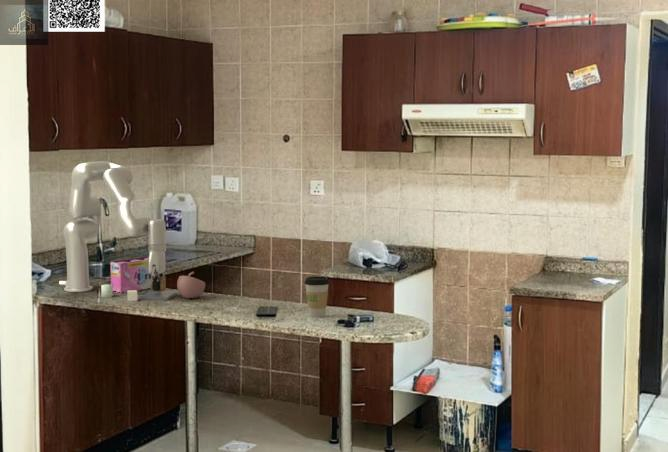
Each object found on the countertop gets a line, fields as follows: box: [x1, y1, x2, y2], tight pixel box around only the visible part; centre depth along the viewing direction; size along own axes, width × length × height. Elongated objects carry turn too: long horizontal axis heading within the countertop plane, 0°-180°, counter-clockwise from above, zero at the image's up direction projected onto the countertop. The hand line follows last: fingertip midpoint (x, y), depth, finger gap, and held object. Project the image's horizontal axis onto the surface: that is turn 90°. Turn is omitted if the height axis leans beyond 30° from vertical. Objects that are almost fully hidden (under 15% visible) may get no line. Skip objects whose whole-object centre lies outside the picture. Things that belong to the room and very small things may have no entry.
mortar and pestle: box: [176, 271, 206, 299], centre depth 425 cm, size 12×12×12 cm
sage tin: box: [100, 283, 114, 299], centre depth 431 cm, size 5×5×5 cm
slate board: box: [139, 290, 178, 301], centre depth 429 cm, size 12×14×1 cm
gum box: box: [109, 256, 157, 294], centre depth 449 cm, size 24×8×14 cm, turn 137°
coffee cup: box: [304, 276, 330, 319], centre depth 386 cm, size 10×10×15 cm
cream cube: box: [126, 290, 138, 302], centre depth 422 cm, size 4×4×4 cm
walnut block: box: [150, 275, 167, 292], centre depth 428 cm, size 5×5×6 cm
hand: (158, 288), depth 428 cm, fingers closed on walnut block, 5 cm apart
